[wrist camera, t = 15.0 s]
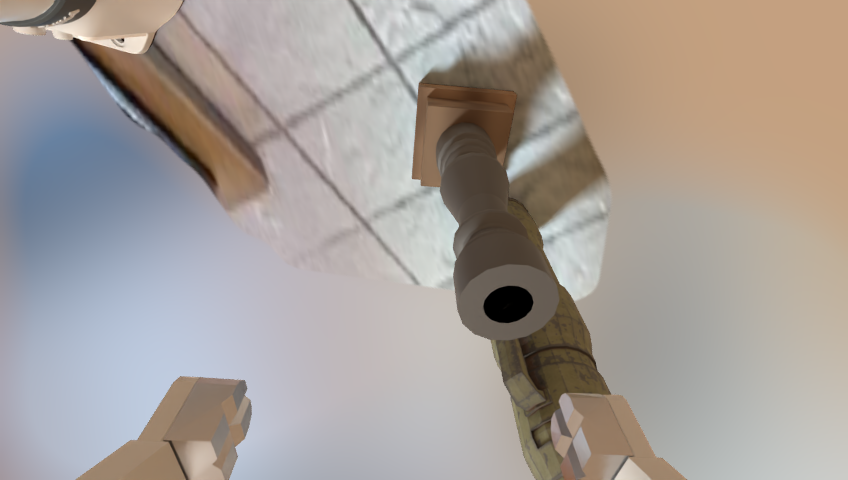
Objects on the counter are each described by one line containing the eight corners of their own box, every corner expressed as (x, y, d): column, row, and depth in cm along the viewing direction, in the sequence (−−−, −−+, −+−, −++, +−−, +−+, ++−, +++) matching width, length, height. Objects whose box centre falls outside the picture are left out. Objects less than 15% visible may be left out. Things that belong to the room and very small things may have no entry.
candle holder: (460, 110, 41) (507, 239, 20) (503, 145, 43) (587, 297, 22) (424, 155, 43) (430, 312, 22) (466, 186, 45) (508, 357, 24)
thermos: (485, 178, 51) (577, 433, 22) (551, 221, 55) (705, 489, 26) (445, 226, 55) (478, 499, 26) (509, 264, 59) (602, 540, 29)
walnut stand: (412, 172, 51) (411, 193, 46) (418, 82, 45) (419, 94, 40) (496, 178, 51) (504, 199, 46) (513, 91, 46) (525, 104, 40)
